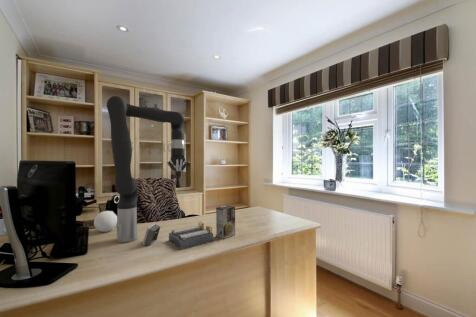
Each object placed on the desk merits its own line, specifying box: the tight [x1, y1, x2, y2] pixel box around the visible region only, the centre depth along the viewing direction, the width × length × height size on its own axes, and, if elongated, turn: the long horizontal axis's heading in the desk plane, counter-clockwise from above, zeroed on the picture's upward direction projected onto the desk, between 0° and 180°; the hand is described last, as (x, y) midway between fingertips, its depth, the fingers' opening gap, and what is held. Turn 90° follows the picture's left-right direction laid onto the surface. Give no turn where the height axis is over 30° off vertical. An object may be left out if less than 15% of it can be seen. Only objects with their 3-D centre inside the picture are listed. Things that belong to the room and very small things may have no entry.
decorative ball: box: [93, 210, 118, 233], centre depth 136 cm, size 12×12×12 cm
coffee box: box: [215, 204, 236, 240], centre depth 128 cm, size 9×6×16 cm
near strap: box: [180, 229, 209, 239], centre depth 117 cm, size 15×3×1 cm, turn 127°
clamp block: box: [168, 221, 214, 251], centre depth 120 cm, size 18×15×7 cm
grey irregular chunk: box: [142, 222, 161, 246], centre depth 118 cm, size 9×5×9 cm, turn 176°
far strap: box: [173, 225, 201, 234], centre depth 124 cm, size 15×3×1 cm, turn 127°
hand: (178, 177), depth 133 cm, fingers closed
